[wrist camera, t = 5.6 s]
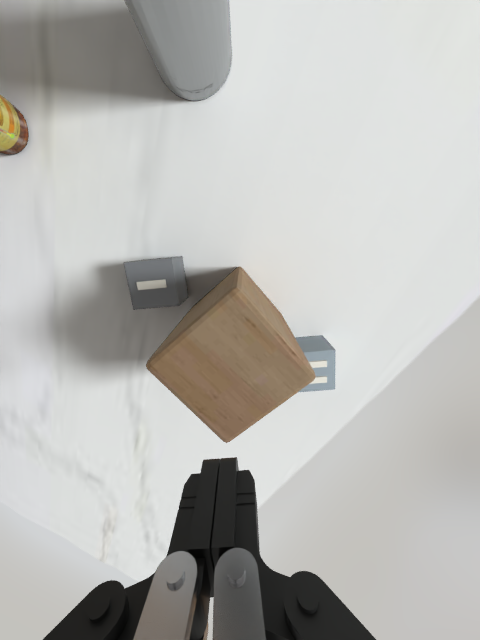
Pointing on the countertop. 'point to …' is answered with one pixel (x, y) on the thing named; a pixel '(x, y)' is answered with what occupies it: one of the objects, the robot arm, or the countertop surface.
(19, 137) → the sauce bottle
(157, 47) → the robot arm
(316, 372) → the slate marked block
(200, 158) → the countertop surface
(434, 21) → the countertop surface
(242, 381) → the wooden block
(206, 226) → the countertop surface
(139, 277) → the charcoal marked block
